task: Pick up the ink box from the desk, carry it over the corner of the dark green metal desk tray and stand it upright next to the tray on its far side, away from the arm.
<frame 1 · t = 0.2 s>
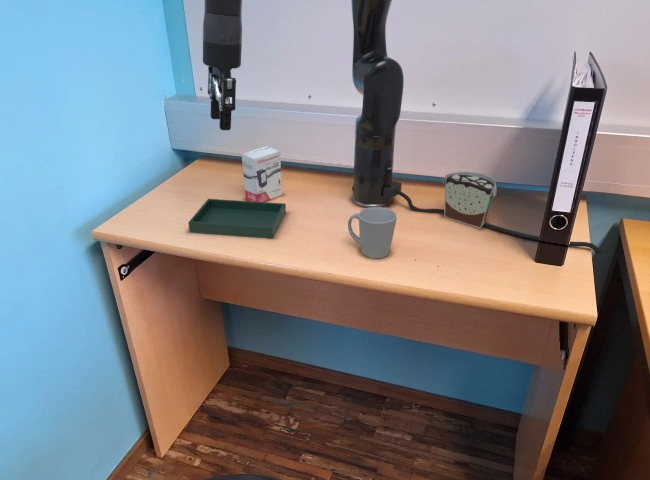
hand: (220, 124, 114), 22 cm above the table, tool pointing down, fingers open, 8 cm apart
food container: (468, 219, 125), on the table
ink box: (263, 198, 138), on the table
desk tray: (239, 222, 126), on the table
cup: (369, 251, 113), on the table
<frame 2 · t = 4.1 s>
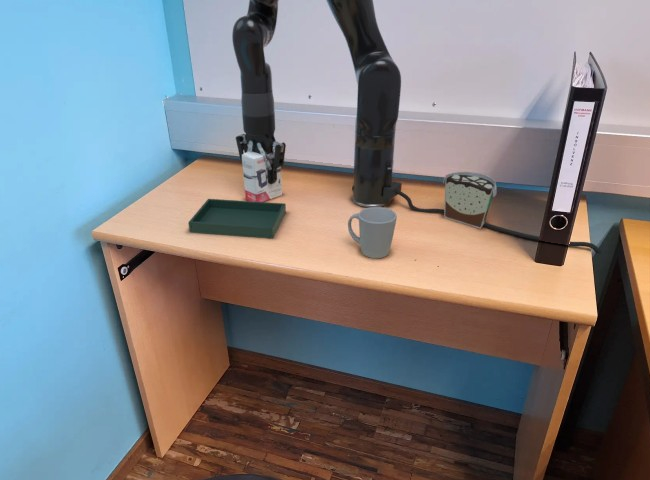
hand: (262, 180, 135), 5 cm above the table, tool pointing down, fingers closed on ink box, 5 cm apart
ink box: (263, 198, 138), on the table, touching gripper
everything else where it was.
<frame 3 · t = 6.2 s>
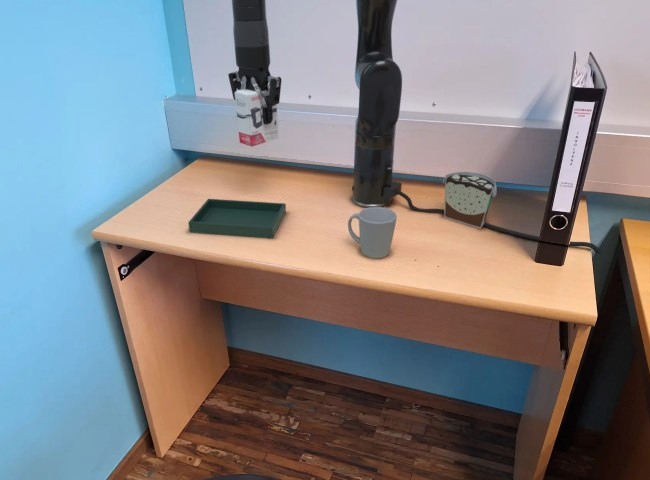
hand: (257, 121, 127), 19 cm above the table, tool pointing down, fingers closed on ink box, 5 cm apart
ink box: (259, 141, 129), point 14 cm above the table, touching gripper
everything else where it was.
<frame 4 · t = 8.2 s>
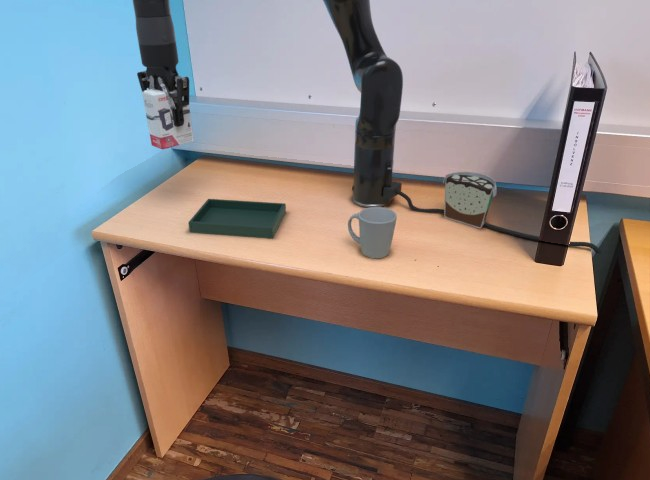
hand: (169, 123, 121), 21 cm above the table, tool pointing down, fingers closed on ink box, 5 cm apart
ink box: (173, 144, 123), point 16 cm above the table, touching gripper
everything else where it was.
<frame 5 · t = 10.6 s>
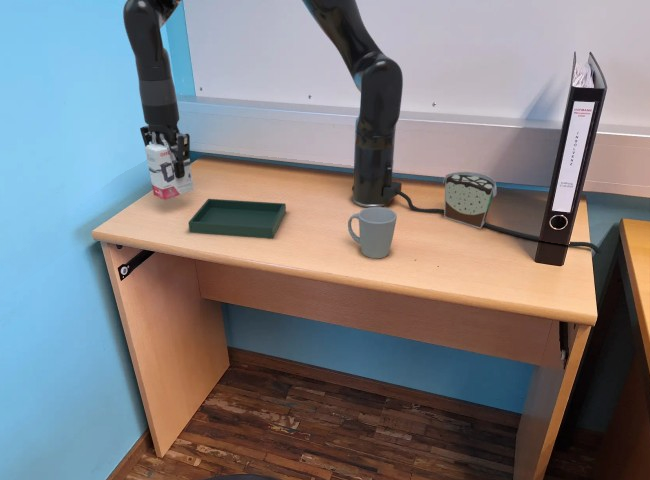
hand: (171, 174, 127), 9 cm above the table, tool pointing down, fingers closed on ink box, 5 cm apart
ink box: (174, 193, 129), point 4 cm above the table, touching gripper
everything else where it was.
when the fingers open (5 cm above the table, at t = 12.3 s): ink box stays where it is, on the table.
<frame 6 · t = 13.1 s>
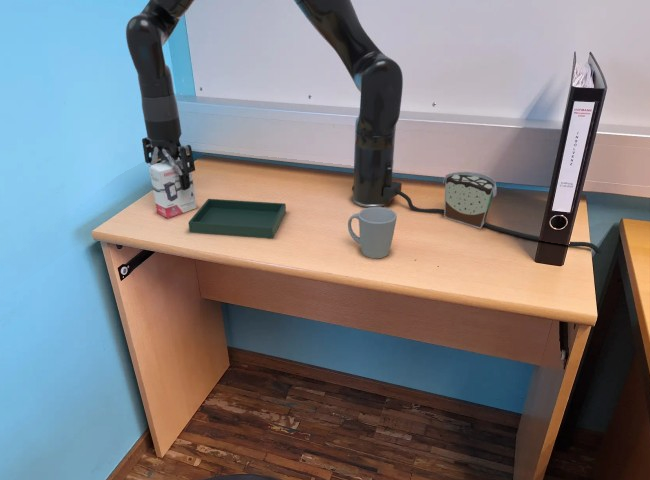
hand: (173, 185, 128), 6 cm above the table, tool pointing down, fingers open, 8 cm apart
ink box: (177, 211, 132), on the table
everything else where it was.
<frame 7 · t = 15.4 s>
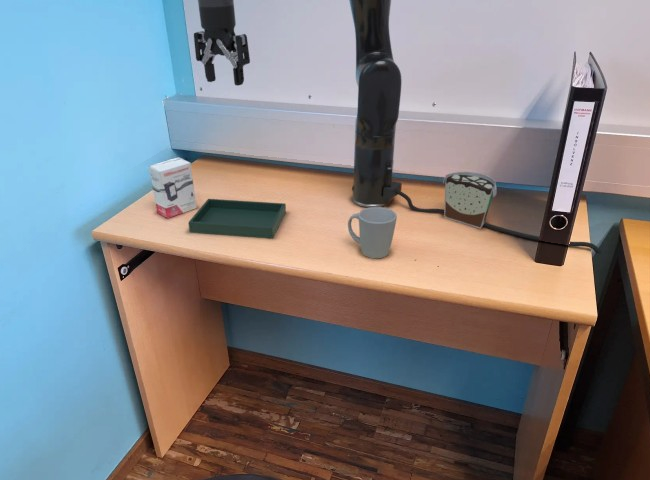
hand: (225, 83, 125), 27 cm above the table, tool pointing down, fingers open, 8 cm apart
nothing on the table moved.
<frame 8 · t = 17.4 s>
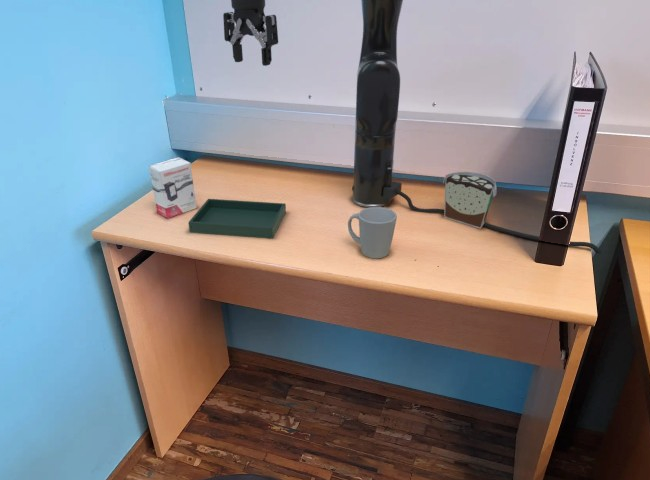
hand: (252, 63, 128), 30 cm above the table, tool pointing down, fingers open, 8 cm apart
nothing on the table moved.
at the end: ink box inside the target area (0.1 cm from its centre), on the table; ink box tilted 0°; the gripper is holding nothing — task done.
